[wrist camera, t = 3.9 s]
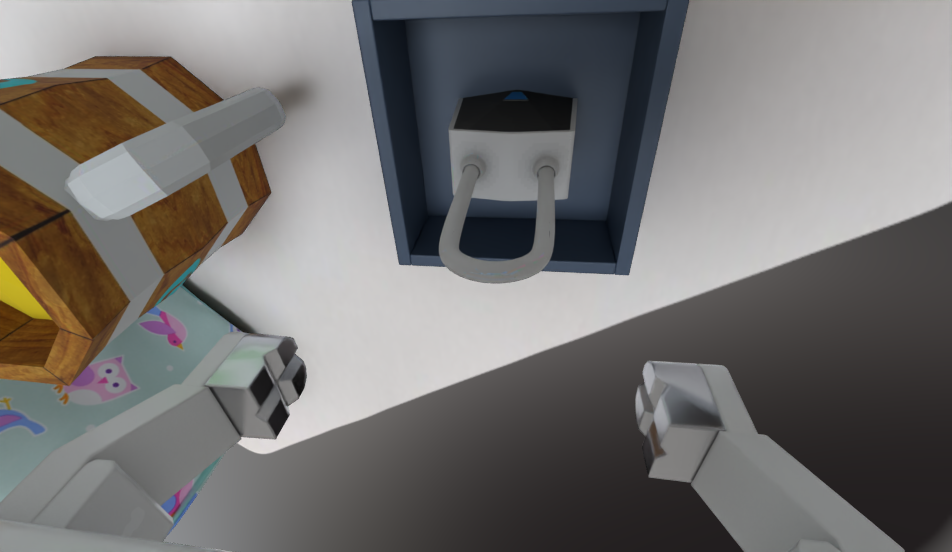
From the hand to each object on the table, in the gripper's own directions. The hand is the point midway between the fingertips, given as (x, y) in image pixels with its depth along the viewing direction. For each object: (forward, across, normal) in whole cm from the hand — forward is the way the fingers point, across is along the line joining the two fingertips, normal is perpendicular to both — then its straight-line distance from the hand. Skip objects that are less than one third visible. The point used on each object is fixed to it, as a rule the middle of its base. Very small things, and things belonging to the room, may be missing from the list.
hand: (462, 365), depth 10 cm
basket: (+19, 0, 0) cm, 19 cm away
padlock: (+19, 0, 0) cm, 19 cm away
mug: (+20, +21, +1) cm, 28 cm away
